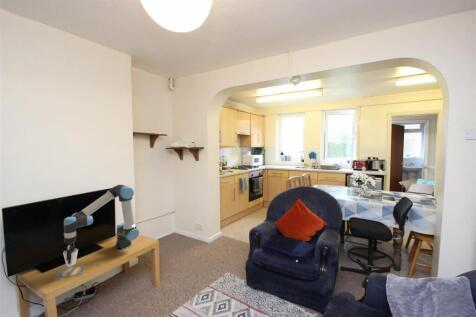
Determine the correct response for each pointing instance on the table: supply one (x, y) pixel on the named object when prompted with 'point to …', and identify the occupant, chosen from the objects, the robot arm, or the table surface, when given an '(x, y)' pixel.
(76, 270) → the coaster
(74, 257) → the cup
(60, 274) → the placemat
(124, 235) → the robot arm
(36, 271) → the table surface
